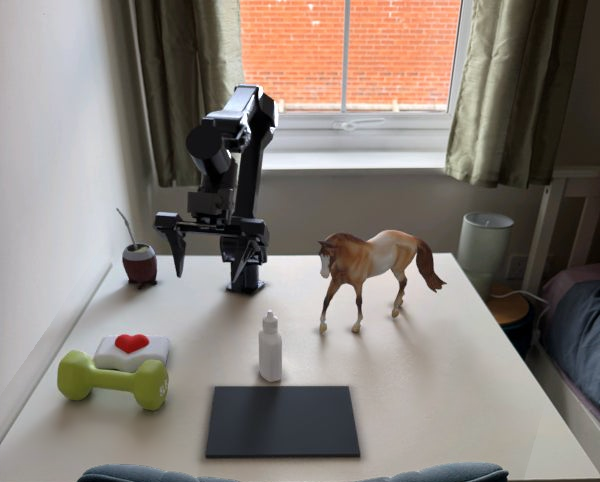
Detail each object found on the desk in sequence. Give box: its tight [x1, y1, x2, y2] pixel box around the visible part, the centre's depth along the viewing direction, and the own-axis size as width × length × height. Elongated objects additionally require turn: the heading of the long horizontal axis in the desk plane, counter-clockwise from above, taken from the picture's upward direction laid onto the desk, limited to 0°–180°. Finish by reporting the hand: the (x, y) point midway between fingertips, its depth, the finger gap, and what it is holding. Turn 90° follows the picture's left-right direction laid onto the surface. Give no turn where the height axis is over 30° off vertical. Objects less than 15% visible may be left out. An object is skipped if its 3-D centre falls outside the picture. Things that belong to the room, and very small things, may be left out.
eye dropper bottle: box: [258, 309, 283, 383], centre depth 99 cm, size 4×6×12 cm
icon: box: [92, 333, 171, 373], centre depth 103 cm, size 12×4×10 cm
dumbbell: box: [56, 350, 170, 411], centre depth 93 cm, size 16×8×7 cm, turn 79°
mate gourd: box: [115, 207, 158, 290], centre depth 126 cm, size 8×8×15 cm
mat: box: [204, 385, 361, 459], centre depth 92 cm, size 17×22×1 cm
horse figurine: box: [317, 229, 448, 334], centre depth 112 cm, size 31×8×21 cm, turn 123°
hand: (205, 279), depth 99 cm, fingers open, 9 cm apart
